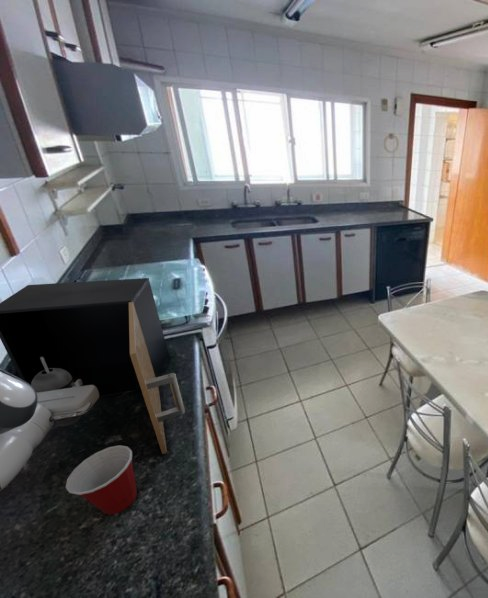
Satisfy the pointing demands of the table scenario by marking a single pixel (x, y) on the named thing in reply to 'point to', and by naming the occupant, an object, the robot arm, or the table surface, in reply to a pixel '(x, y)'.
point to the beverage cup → (54, 385)
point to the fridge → (82, 331)
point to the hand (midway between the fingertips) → (55, 384)
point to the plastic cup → (106, 479)
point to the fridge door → (151, 380)
